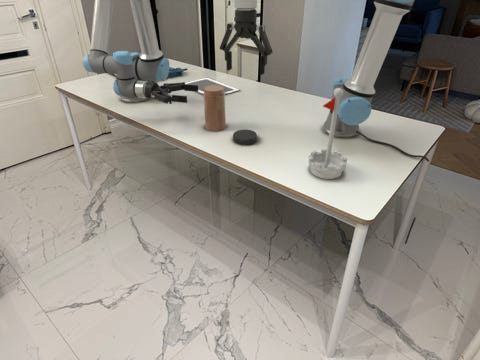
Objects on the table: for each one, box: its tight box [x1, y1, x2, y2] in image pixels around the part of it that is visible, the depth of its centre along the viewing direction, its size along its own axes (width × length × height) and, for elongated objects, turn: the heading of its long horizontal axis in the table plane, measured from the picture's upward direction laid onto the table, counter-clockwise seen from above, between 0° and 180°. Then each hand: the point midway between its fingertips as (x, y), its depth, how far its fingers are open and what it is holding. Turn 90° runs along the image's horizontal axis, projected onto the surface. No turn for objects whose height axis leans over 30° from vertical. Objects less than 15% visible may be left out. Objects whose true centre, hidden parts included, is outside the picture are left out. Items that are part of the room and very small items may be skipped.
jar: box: [202, 85, 227, 132], centre depth 149 cm, size 9×9×18 cm
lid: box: [232, 128, 258, 146], centre depth 142 cm, size 10×10×2 cm
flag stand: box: [307, 88, 348, 180], centre depth 113 cm, size 13×13×30 cm
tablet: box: [185, 77, 241, 96], centre depth 200 cm, size 32×20×1 cm, turn 41°
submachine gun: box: [143, 66, 188, 81], centre depth 221 cm, size 34×4×25 cm
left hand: (192, 93), depth 147 cm, fingers open, 13 cm apart
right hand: (245, 71), depth 127 cm, fingers open, 13 cm apart
